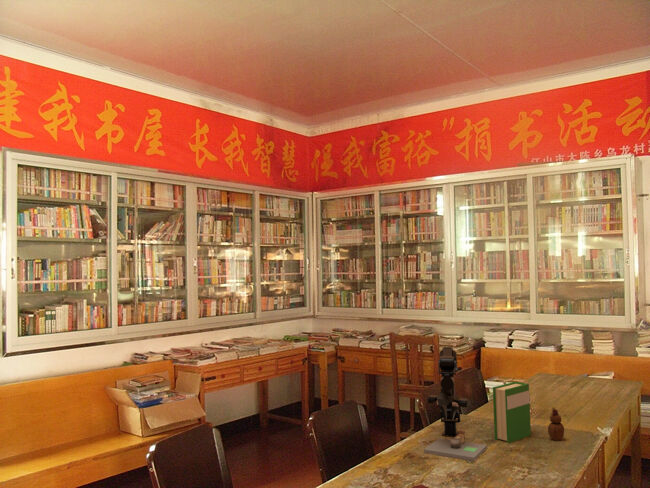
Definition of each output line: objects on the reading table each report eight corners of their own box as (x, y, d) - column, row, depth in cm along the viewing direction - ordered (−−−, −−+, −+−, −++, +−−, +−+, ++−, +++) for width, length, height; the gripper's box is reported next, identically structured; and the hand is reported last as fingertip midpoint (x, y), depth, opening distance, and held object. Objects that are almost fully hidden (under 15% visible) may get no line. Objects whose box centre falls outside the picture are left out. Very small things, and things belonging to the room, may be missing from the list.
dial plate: (439, 441, 258) (439, 437, 258) (486, 448, 246) (486, 444, 246) (424, 452, 243) (424, 449, 243) (474, 461, 231) (474, 457, 231)
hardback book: (508, 443, 252) (506, 389, 253) (494, 439, 258) (492, 387, 259) (530, 435, 263) (528, 383, 264) (517, 431, 269) (514, 381, 270)
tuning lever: (458, 448, 241) (458, 438, 242) (449, 446, 244) (448, 437, 244) (467, 440, 251) (467, 431, 252) (458, 439, 254) (457, 430, 254)
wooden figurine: (554, 442, 252) (552, 408, 253) (546, 438, 258) (544, 405, 258) (567, 440, 254) (565, 407, 255) (558, 436, 260) (557, 404, 260)
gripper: (421, 386, 252) (422, 422, 251) (462, 390, 242) (463, 427, 241) (430, 382, 261) (432, 416, 260) (470, 385, 251) (471, 421, 250)
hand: (449, 420), depth 253 cm, fingers open, 3 cm apart
